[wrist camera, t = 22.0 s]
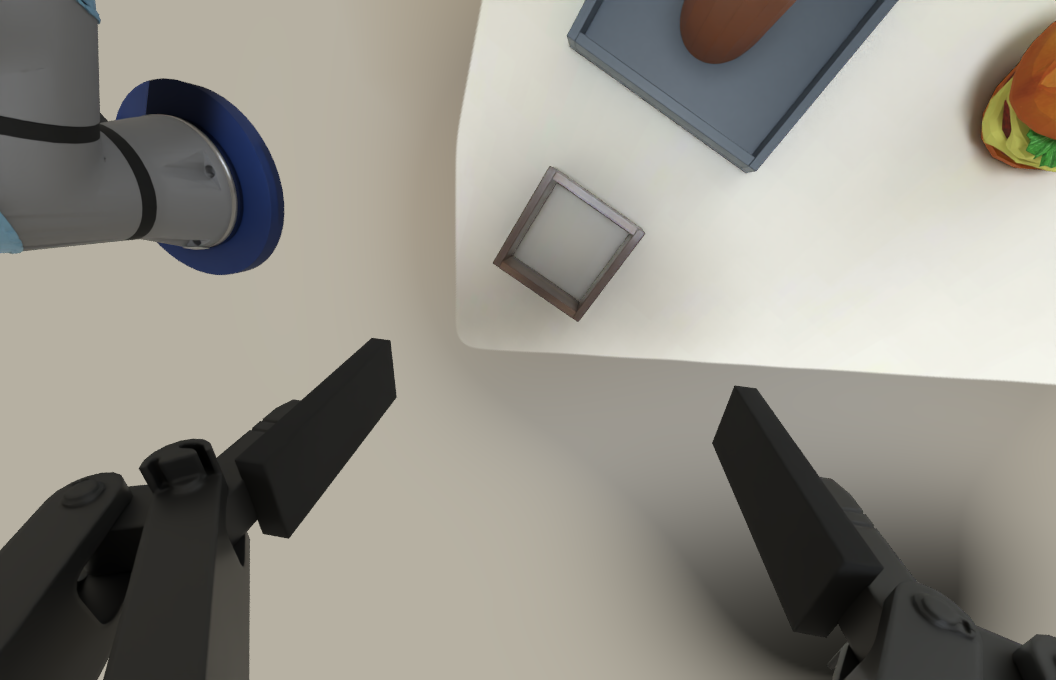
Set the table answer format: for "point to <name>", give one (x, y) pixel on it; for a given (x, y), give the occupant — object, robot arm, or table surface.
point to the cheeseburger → (1025, 109)
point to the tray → (726, 67)
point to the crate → (538, 281)
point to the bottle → (727, 26)
